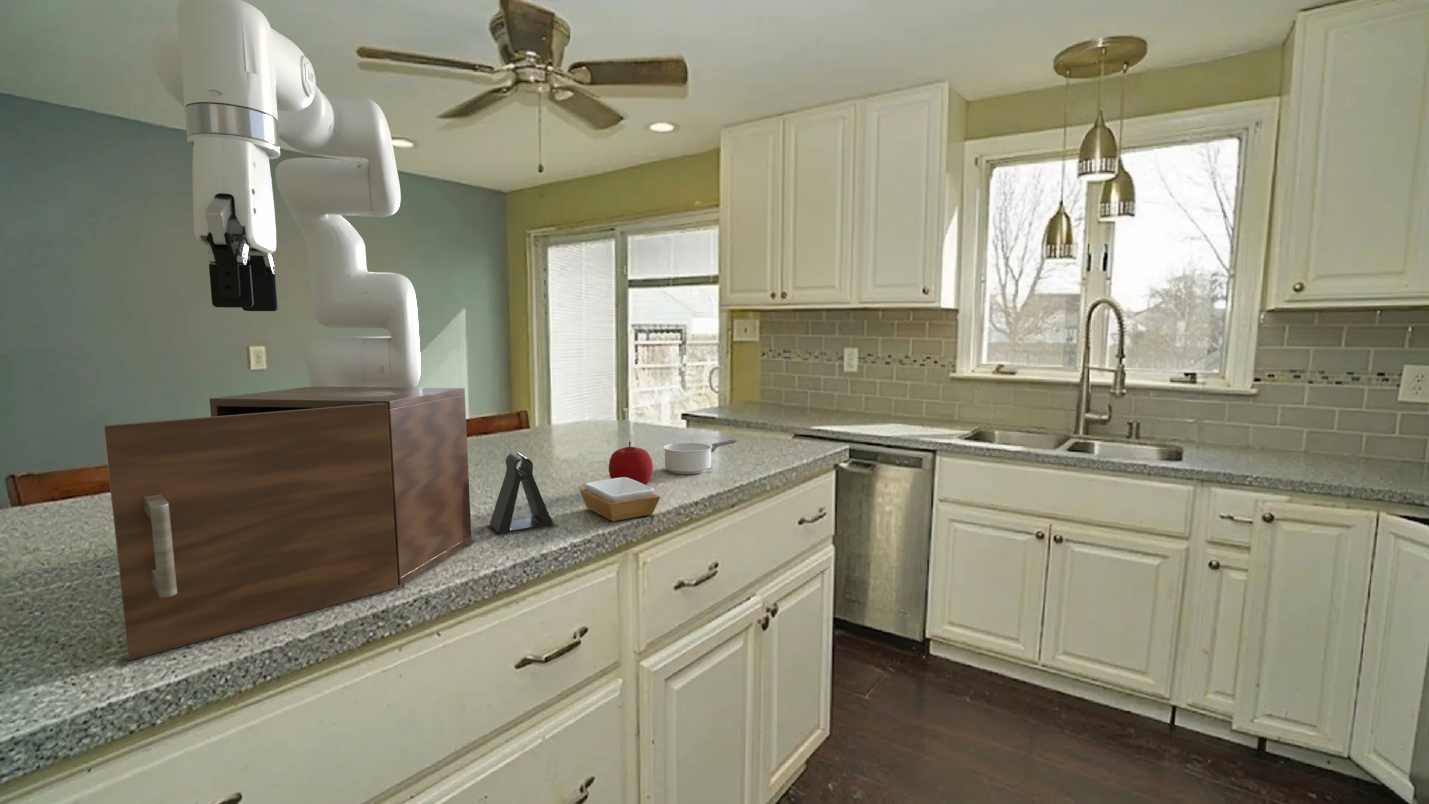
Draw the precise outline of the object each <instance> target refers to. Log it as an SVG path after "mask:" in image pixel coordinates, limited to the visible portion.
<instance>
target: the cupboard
mask: <svg viewBox="0 0 1429 804" xmlns="http://www.w3.org/2000/svg"><path fill="white" fill-rule="evenodd" d="M377 403H386V404H387V412H388V428H389V445H390V462H391V479H392V496H393V513H394V530H395V547H396V564H397V581H398V586H400V585H403V584H404V583H407V582H408V581H409V580H411V579H413V578H414V577H416V576H417V575H419V574H420V573H422V572H424V571H426V570H427V569H429V568H430V567H432V566H434V565H435V564H437V563H439V562H440V561H442V560H443V559H445V558H447V557H448V556H450V555H452V554H453V553H455V552H456V551H458V550H460V549H461V548H463V547H464V546H466V545H468V544H470V543H471V542H472V518H471V499H470V497H471V496H470V476H469V455H468V452H469V451H468V434H467V432H468V431H467V412H466V411H467V409H466V389H465V388H464V387H414V388H401V387H313V386H312V387H311V386H304V387H295V388H285V389H278V390H271V391H270V390H269V391H262V392H261V391H260V392H253V393H244V394H236V395H235V394H234V395H229V396H219V397H211V398H209V410H210V411H209V412H210V417H215V416H227V415H240V414H252V413H264V412H277V411H289V410H302V409H314V408H327V407H339V406H352V405H364V404H377Z"/></svg>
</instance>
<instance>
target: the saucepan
mask: <svg viewBox="0 0 1429 804" xmlns="http://www.w3.org/2000/svg"><path fill="white" fill-rule="evenodd" d="M735 443H736V439H727V440H724V441H718V442H715V443H712V444H710V443H704V442H675V443H674V442H673V443H669V444H664V445H663V446H662V448H663V449H664V468H665V469H666V470H668V471H670V473H672V474H677V475H695V474H696V475H697V474H702V473H705V472H706V471H707V470H708V469H710V468H711V467H712V453H714V452H715V451H716V450H717V449H718V448H719V447H722V446H727V445H731V444H735Z"/></svg>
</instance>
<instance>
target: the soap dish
mask: <svg viewBox="0 0 1429 804" xmlns="http://www.w3.org/2000/svg"><path fill="white" fill-rule="evenodd" d="M584 487H585V488H580V489H579V493H580V495H581V497H582V499H583V502H584V504H585V507H586V508H587V509H588V510H589V511H592V512H593V513H596V514H598V515H599V516H602V517H603V518H605V519H606V520H609V521H610V522H611V523H615V522H617V521H622V520H629V519H633V518H638V517H639V518H640V517H644V516H646V517H651V516H652V515H653V514H654V511H655V510H656V508H657V505H658V504H659V501H660V499H661V496H660V495H659V494H656V493H655V489H654V488H653V487H651V486H648V485H644V484H642V483H640V482H637V481H635V480H632V479H630V478H627V477H621V478H614V479H611V478H607V479H601V480H595V481H589V482H585V483H584Z"/></svg>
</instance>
